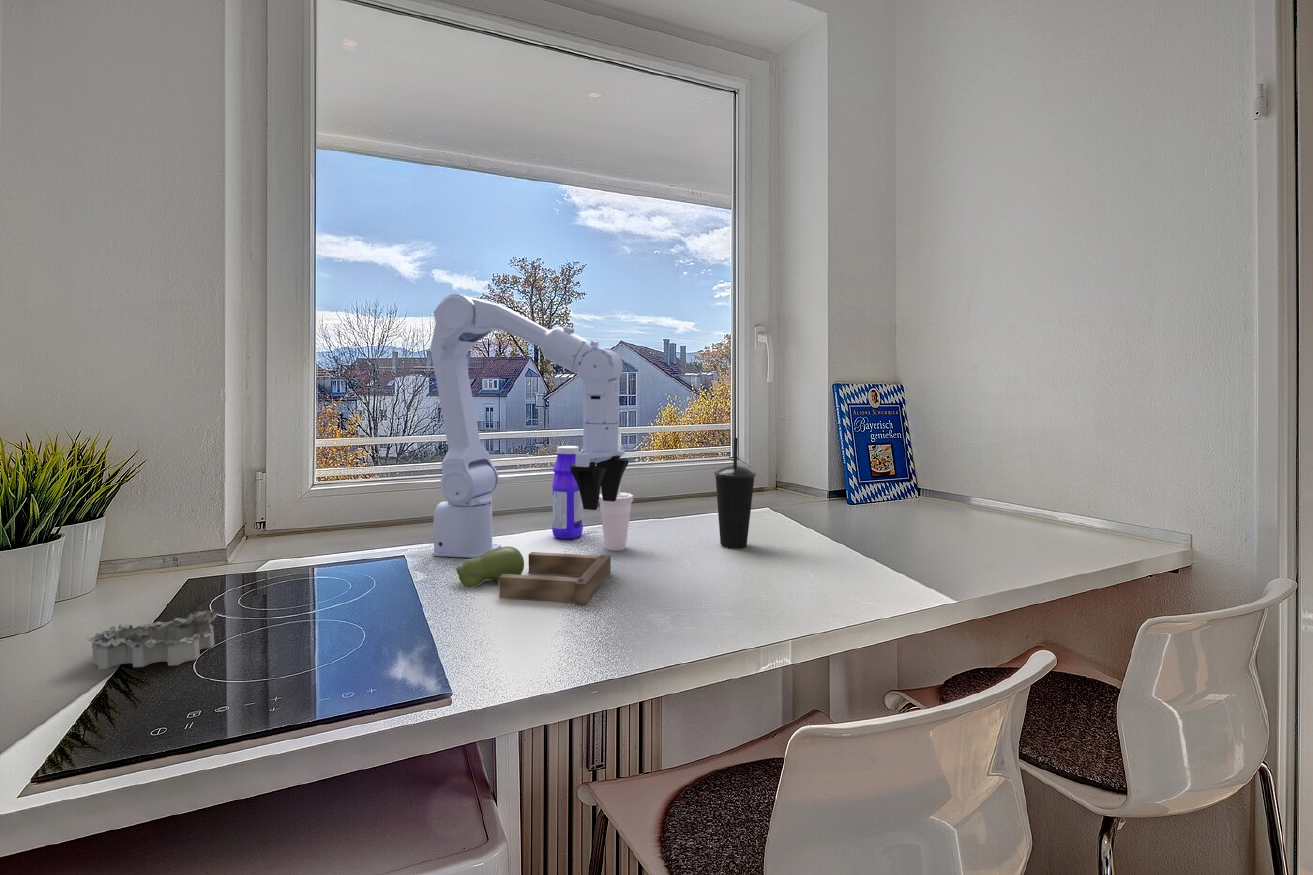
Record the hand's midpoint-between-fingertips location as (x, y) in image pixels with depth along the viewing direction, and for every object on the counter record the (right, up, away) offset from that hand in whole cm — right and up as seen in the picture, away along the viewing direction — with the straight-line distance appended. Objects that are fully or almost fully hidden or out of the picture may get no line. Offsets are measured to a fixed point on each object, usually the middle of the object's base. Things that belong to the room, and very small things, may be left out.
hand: (600, 504), depth 113 cm
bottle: (-8, -8, +20) cm, 23 cm away
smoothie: (+2, -9, +11) cm, 14 cm away
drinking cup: (+24, -9, +14) cm, 29 cm away
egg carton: (-47, -14, -37) cm, 61 cm away
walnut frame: (-6, -11, -11) cm, 17 cm away
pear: (-16, -11, -9) cm, 21 cm away
